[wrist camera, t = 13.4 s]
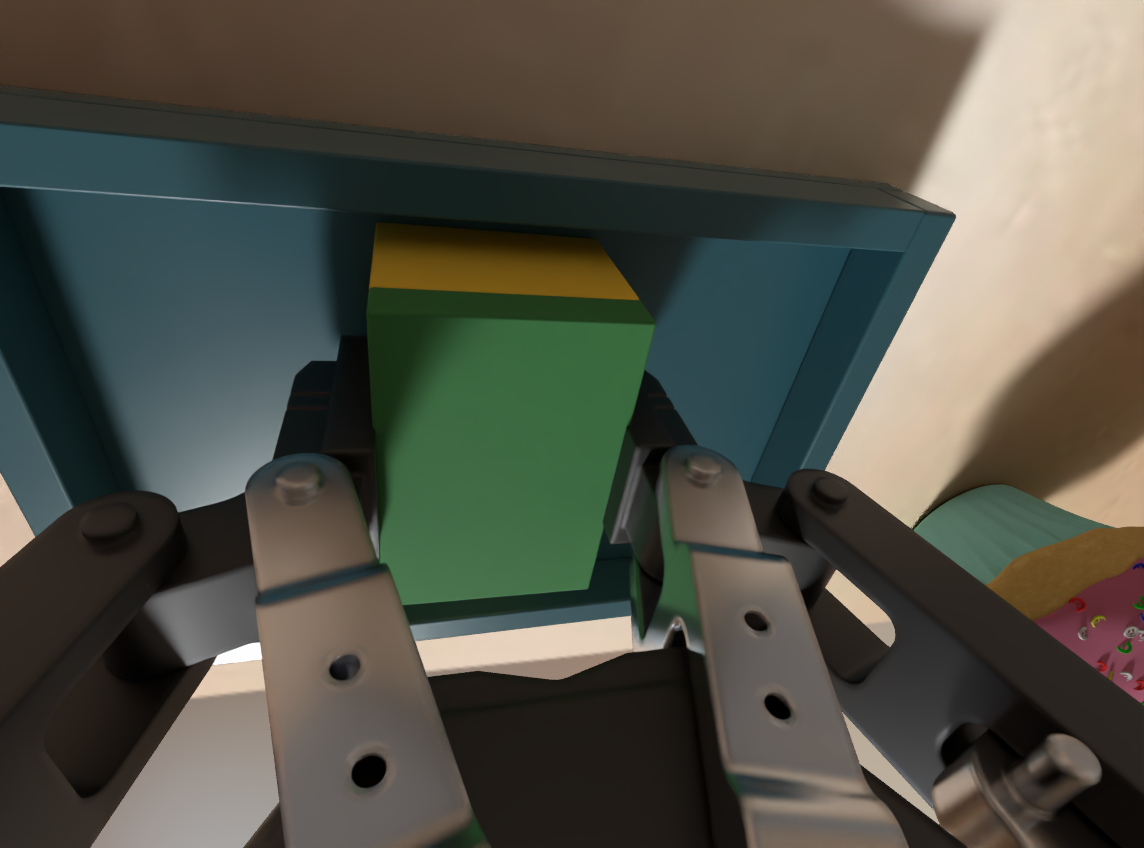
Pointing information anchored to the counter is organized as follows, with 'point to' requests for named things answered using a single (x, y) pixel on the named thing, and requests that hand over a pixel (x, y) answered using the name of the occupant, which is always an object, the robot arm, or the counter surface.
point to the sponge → (497, 406)
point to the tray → (341, 285)
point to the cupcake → (1053, 572)
